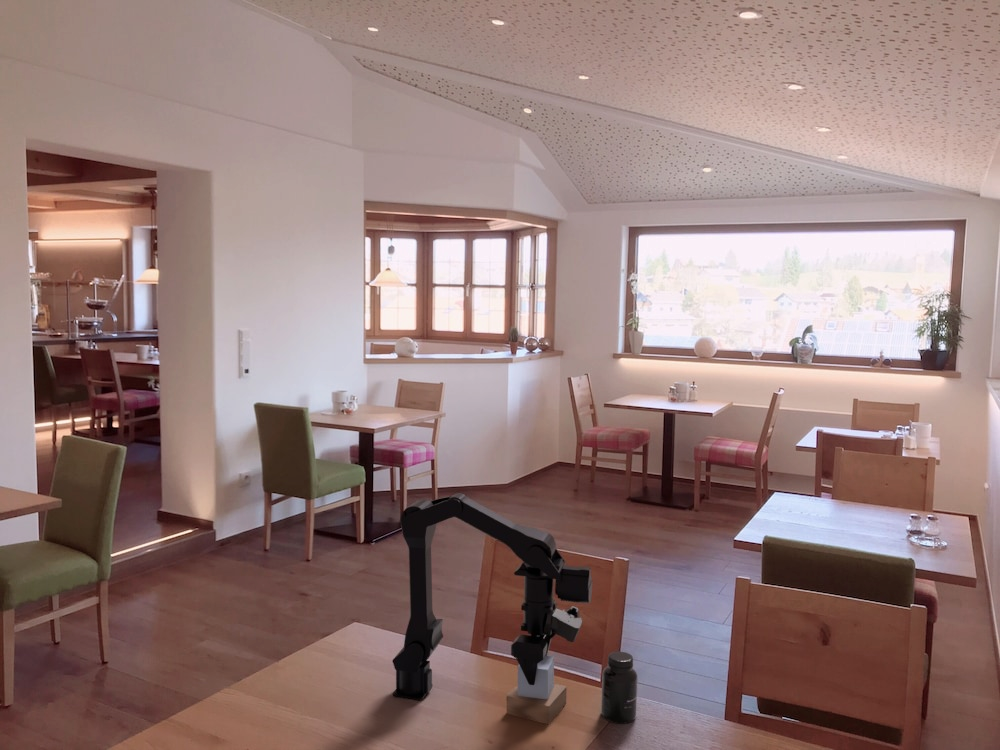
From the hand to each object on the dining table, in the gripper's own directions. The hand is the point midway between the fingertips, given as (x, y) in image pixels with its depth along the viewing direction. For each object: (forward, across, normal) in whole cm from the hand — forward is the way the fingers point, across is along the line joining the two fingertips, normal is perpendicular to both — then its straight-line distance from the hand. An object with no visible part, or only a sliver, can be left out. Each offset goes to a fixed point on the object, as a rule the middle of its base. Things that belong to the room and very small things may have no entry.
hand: (537, 674), depth 158 cm
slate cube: (+3, 0, 0) cm, 3 cm away
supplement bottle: (+7, +2, -16) cm, 18 cm away
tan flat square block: (+7, 0, 0) cm, 7 cm away
